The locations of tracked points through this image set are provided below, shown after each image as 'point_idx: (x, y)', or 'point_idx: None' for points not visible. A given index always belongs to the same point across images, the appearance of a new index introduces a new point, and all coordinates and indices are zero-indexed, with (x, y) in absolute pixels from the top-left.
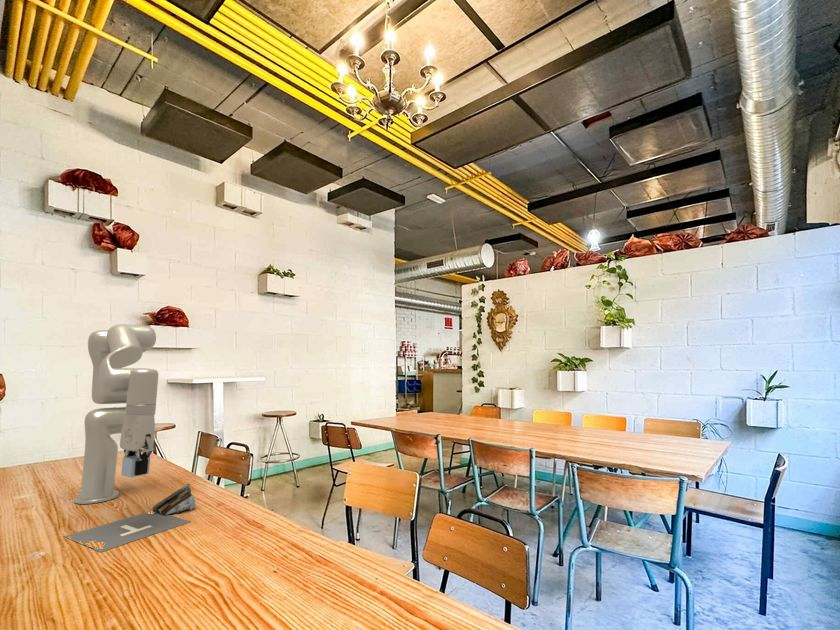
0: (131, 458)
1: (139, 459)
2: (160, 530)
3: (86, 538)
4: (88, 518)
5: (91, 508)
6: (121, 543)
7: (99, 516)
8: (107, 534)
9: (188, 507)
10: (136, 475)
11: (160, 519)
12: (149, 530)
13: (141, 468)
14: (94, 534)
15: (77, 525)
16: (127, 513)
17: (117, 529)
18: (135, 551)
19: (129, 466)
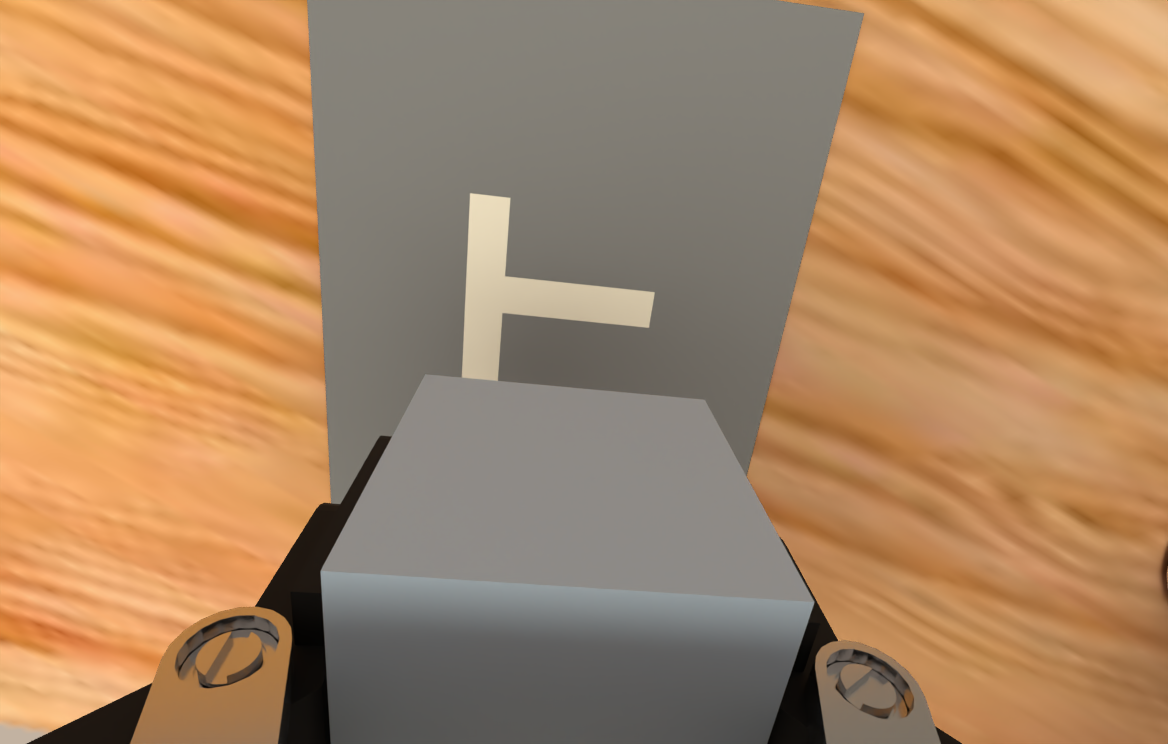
0: (467, 622)
1: (172, 645)
2: (347, 354)
3: (660, 58)
4: (1017, 308)
5: (1164, 425)
6: (339, 104)
7: (976, 358)
8: (597, 170)
9: None
10: (382, 442)
11: None
12: (409, 326)
13: (300, 545)
14: (681, 131)
15: (971, 197)
16: (843, 457)
17: (623, 255)
18: (115, 57)
19: (464, 467)
